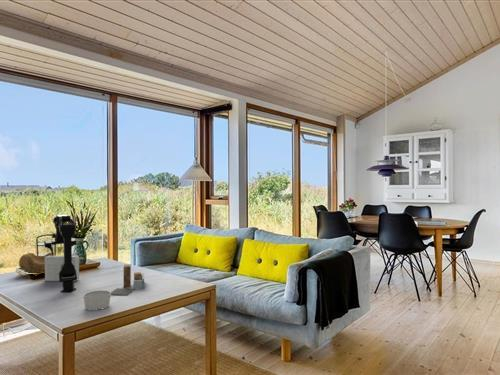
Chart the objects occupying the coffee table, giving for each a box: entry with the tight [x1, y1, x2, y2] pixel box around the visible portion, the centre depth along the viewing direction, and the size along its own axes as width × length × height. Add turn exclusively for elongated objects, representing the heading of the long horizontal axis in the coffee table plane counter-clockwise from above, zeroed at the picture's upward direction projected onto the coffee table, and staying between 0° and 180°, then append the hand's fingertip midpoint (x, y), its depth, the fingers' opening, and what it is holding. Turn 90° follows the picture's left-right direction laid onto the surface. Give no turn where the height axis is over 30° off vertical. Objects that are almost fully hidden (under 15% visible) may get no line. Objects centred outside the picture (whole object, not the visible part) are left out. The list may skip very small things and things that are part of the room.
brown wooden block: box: [123, 264, 132, 289], centre depth 225 cm, size 4×6×13 cm
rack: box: [133, 272, 145, 290], centre depth 227 cm, size 6×14×6 cm, turn 16°
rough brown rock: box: [18, 251, 57, 273], centre depth 252 cm, size 23×16×15 cm
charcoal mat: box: [110, 287, 136, 296], centre depth 213 cm, size 11×11×1 cm
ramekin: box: [83, 289, 112, 311], centre depth 188 cm, size 13×13×7 cm
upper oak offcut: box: [133, 271, 143, 281], centre depth 227 cm, size 4×4×4 cm
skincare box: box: [44, 255, 80, 282], centre depth 237 cm, size 21×5×16 cm, turn 85°
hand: (60, 254), depth 244 cm, fingers open, 8 cm apart
